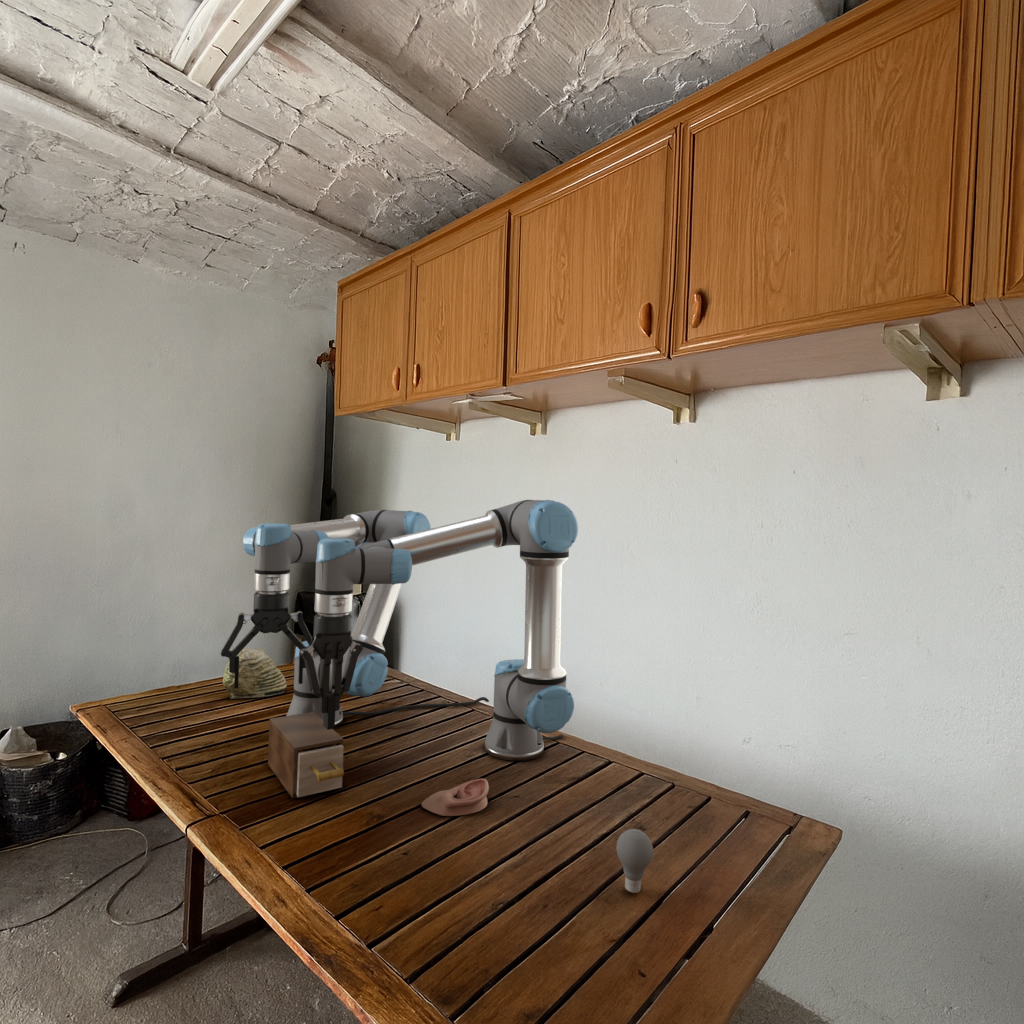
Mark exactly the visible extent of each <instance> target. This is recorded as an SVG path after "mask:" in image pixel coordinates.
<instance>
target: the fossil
mask: <svg viewBox="0 0 1024 1024" xmlns="http://www.w3.org/2000/svg"><path fill="white" fill-rule="evenodd" d="M237 656H239V682H238V688H234V685H235V673H230V671H229V663H230V660H229V659H228V660H227V663H226V666H225V668H224V671H223V675H222V676H223V677H222V685H223V687H224V688H225V690H226V691H228V693H229V698H230V699H250V698H264V697H271V696H275V695H281V694H284V693H285V691H286V689H287V687H288V686H287V680H286V678H285V676H284V674H283V673H282V672H281V669H279V668H278V667H277V665H276V663H275V662H274V660H273V659H272V658H271V657H270V656H269V655H268V654H267V653H266V652H265V650H264V649H263V648H260V647H258V648H251V647H247V646H245V647H244V648H243V650H242V651H241V652H240V653H239V654H238V655H237Z"/></svg>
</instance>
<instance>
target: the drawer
mask: <svg viewBox="0 0 1024 1024" xmlns="http://www.w3.org/2000/svg"><path fill="white" fill-rule="evenodd" d="M344 748H345V747H344V744H343V745H337V746H336V744H332V745H327V746H322V747H316V748H311V749H306V750H301V751H298V768H297V796H298V798H303V797H307V796H311V795H315V794H319V793H324V792H329V791H333V790H336V789H340V788H343V776H345V771H344Z"/></svg>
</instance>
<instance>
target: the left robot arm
mask: <svg viewBox="0 0 1024 1024" xmlns="http://www.w3.org/2000/svg"><path fill="white" fill-rule="evenodd" d="M428 529H432V526H431V522H430V520H429V519H428V517H427V516H426V515H425V514H424V513H422V512H420V511H413V510H394V509H374V510H369V511H368V510H367V511H362V512H358V513H349V514H346V515H345V516H344V517H343V518H338V519H337V518H336V519H330V520H320V521H313V522H312V521H311V522H304V523H295V524H288V523H276V522H275V523H274V522H273V523H271V522H270V523H269V522H265V523H260V524H258V525H257V526H254V527H251V528H249V529H248V530H247V531H246V532H245V533H244V535H243V538H242V547H243V550H244V552H245V553H246V554H247V555H249V556H251V557H254V574H253V575H254V576H253V579H254V580H253V590H254V591H255V592H254V593H253V609H252V610H253V611H252V613H251V614H249V613H244V612H239V613H238V616H237V622H236V623H235V626H234V628H233V629H232V631H231V633H230V635H229V636H228V638H227V640H226V641H225V643H224V645H223V647H222V649H221V652H220V657H223V658H224V657H225V658H228V660H230V663H229V671H230V673H235V685H234V688H238V682H239V656H237V655H238V654H239V653H240V652H241V651H242V650H243V648H244V647H247V645H248V644H249V643H250V642H251V641H252V640H253V639H254V638H255V637H256V636H257V635H258V634H259V633H262V634H270V633H273V634H279V632H281V631H282V633H283V634H284V635H286V636H287V638H288V639H289V640H290V641H291V642H292V643H293V644H294V645H295V646H296V647H295V652H294V653H295V654H294V657H293V659H294V660H293V662H294V663H293V665H294V666H293V695H292V696H293V697H292V699H291V702H290V704H289V708H288V711H287V713H286V715H285V716H290V715H296V714H303V713H309V712H315V713H316V714H317V715H318V716H319V717H320V718H322V719H323V716H324V713H322V712H321V711H320V709H319V705H320V696H315V695H314V694H313V693H312V692H311V690H310V685H309V681H308V676H307V671H306V667H305V662H304V659H303V657H302V656H301V654H300V653H299V651H300V649H302V648H304V649H305V648H306V647H307V646H309V645H310V644H311V640H312V638H313V636H312V635H311V633H310V631H309V629H308V627H307V625H306V624H305V621H304V613H303V611H301V610H298V611H296V612H292V613H291V612H290V593H289V592H288V591H290V579H291V577H290V576H291V565H292V564H301V563H316V558H317V547H318V542H319V541H320V540H321V539H324V538H345V539H352V540H354V542H355V546H356V547H357V546H358V545H360V544H362V543H366V542H372V543H374V542H378V541H382V540H387V539H391V538H395V537H399V536H403V535H407V534H411V533H415V532H420V531H424V530H428ZM403 584H404V583H400V584H394V585H392V584H369V586H368V589H367V592H366V594H365V597H364V599H363V603H362V605H361V608H360V611H359V614H358V616H357V619H356V621H355V625H354V627H353V630H352V632H351V636H352V638H353V641H354V642H355V643H358V644H360V645H362V646H363V650H362V651H361V653H360V654H359V656H358V659H357V663H356V667H355V670H354V674H353V678H352V682H351V685H350V689H349V691H347V692H343V693H342V694H346V695H350V696H352V697H361V698H362V697H363V698H364V697H365V698H367V697H370V696H372V695H374V693H377V692H378V691H379V690H380V689H381V687H382V686H383V685H384V683H385V681H386V679H387V676H388V672H389V667H388V665H389V663H388V659H387V658H386V656H385V654H386V648H385V646H384V644H383V642H384V639H385V636H386V633H387V630H388V628H389V624H390V621H391V619H392V616H393V612H394V611H395V607H396V604H397V600H398V598H399V595H400V592H401V589H402V587H403ZM291 619H292V620H293V621H294V622H295V623H297V624H298V626H299V629H300V631H301V632H302V634H303V637H304V639H305V640H304V641H301V639H300V638H299V637H298V636H297V634H295V633H294V631H292V630H291V628H290V627H289V625H288V623H289V622H290V621H291ZM248 621H251V622H252V623H253V627H252V628H251V629H250V630H249V631H248V633H247V634H246V635H245V636H244V637H243V638H242V639H241V640H240V641H239V642H238V644H237V645H236V646H235V647H234V648H233V649H232V650H231V648H232V646H233V644H234V643H235V640H236V639H237V638H238V636H239V633H240V632H241V630H242V628H243V626H244V625H246V624H247V623H248ZM349 648H350V647H349ZM349 648H348V650H347V651H346V653H345V654H344V655H343V663H342V676H343V673H344V669H345V665H346V661H347V658H348V654H349V652H350V651H349ZM313 653H314V655H313V656H312V658H313V661H314V665H315V669H316V674H317V679H318V684H320V656H319V655H318V654H317V652H316V651H315V650H313ZM331 690H332V659H331V664H330V679H329V694H332V691H331ZM473 701H474V702H473ZM481 701H484V702H486V703H489V702H490V700H489V698H488V697H486V696H481V697H479V698H477V699H474V700H472V701H464V702H463V701H462V702H447V703H425V704H424V703H423V704H411V705H409V704H408V705H400V706H394V707H388V708H385V709H384V708H383V709H379V710H374V711H343V709H342V706H341V705H340V708H339V711H335V728H337V727H339V726H340V725H342V723H343V722H344V716H377V715H381V714H384V713H389V712H394V711H401V710H409V709H422V708H423V709H424V708H447V707H448V708H449V707H461V706H462V707H464V706H473V705H476V704H478V703H480V702H481Z"/></svg>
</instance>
